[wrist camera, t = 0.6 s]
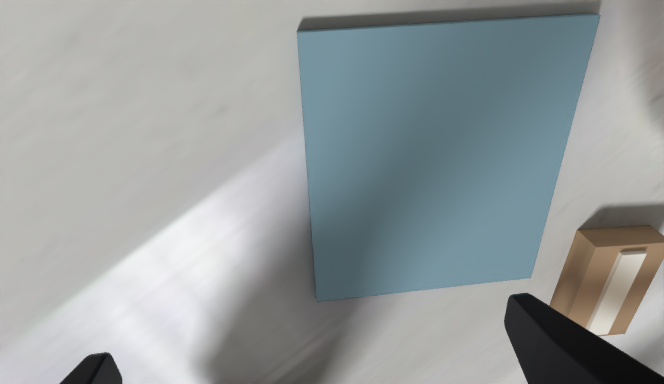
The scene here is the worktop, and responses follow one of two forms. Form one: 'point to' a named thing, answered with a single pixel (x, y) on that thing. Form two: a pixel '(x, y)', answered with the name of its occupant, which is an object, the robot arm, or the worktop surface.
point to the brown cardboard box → (608, 276)
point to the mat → (436, 148)
